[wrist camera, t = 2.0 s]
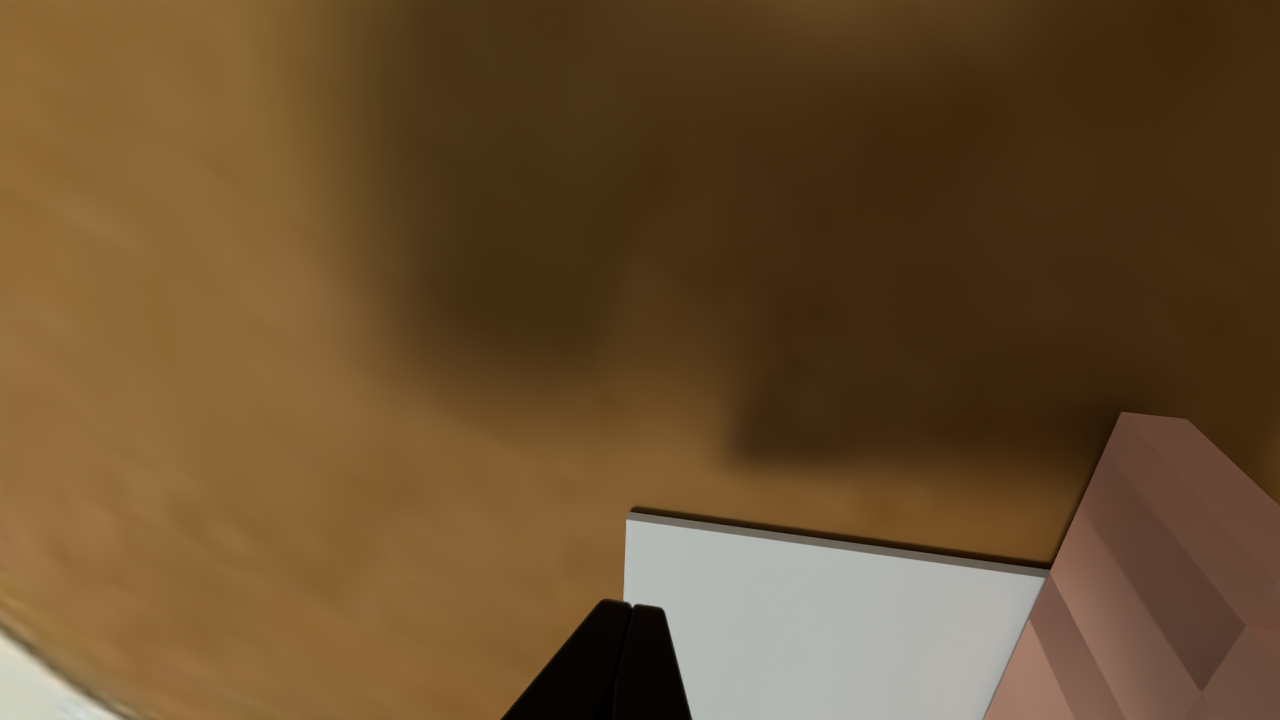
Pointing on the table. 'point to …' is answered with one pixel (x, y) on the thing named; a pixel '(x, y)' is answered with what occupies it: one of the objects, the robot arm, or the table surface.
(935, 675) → the card
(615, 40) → the table surface
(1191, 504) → the fence leaf
